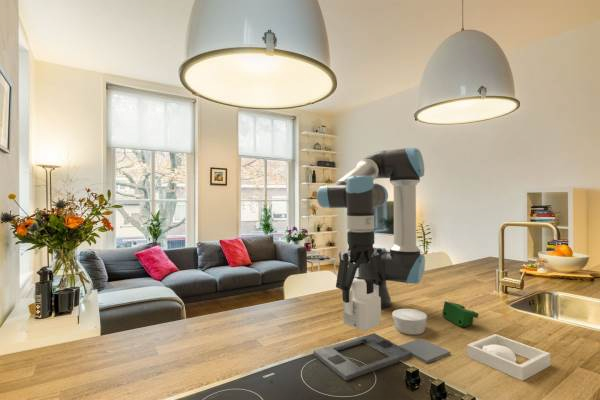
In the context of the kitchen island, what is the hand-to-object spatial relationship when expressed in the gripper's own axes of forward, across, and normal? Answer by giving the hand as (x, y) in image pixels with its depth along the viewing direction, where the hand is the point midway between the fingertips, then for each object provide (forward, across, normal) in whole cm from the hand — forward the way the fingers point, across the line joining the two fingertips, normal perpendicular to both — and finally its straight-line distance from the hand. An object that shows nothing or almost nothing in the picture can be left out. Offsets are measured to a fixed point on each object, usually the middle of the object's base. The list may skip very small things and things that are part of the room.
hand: (362, 310), depth 89 cm
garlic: (+14, +30, -21) cm, 39 cm away
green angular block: (+14, +46, +1) cm, 48 cm away
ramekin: (+14, +25, +6) cm, 29 cm away
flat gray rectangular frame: (+13, 0, 0) cm, 13 cm away
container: (+4, 0, 0) cm, 4 cm away
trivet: (+13, +16, -7) cm, 22 cm away
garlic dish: (+13, +32, -22) cm, 41 cm away
